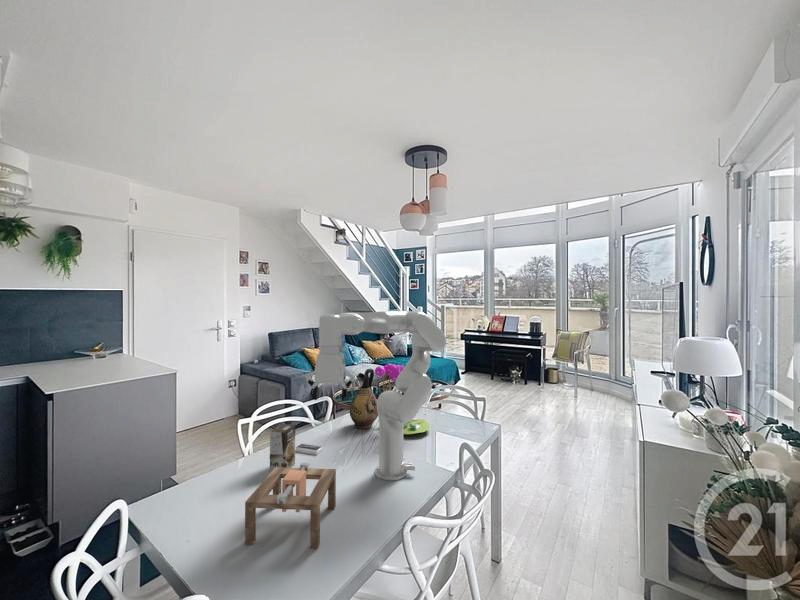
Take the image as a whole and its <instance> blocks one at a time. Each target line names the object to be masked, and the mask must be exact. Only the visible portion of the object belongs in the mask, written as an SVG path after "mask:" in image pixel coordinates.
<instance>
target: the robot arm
mask: <svg viewBox="0 0 800 600" xmlns="http://www.w3.org/2000/svg"><path fill="white" fill-rule="evenodd" d="M318 321H319V322H318V323H319V324H318V327H319V328H318V329H319V331H318V334H319V336H318V340H319V342H318V343H319V344H318V346H319V347H318V348H319V349H318V353H317V355H316V360H315V361H316V362H315V368H314V369H315V370H313V371H310V372H309V373H307V374H305V379H306V381H307V383H308V385H309V386H310V387H311V389H312V397H313V400H314V401H317V400H318V399H319V397H320V395H319V394H320V391H319V389H320V387H319V386H318V385H320V384H333V385H334V384H337V385H338V384H339V385H341V387H342V389H341V401H343V402H344V401H345V400H346V398H348V388H349V386H351V385H352V384H353V382H354V380H355V378H356V375H355V374H353V373H352V372H350V371H348V370H347V369H346V360H345V359H346V358H345V354H344V353H343V352H345V351H346V346H343V344H342V336H343V335H350V336H355V335H359V334H360V333H372V334H400V333H401V334H402V333H412V335H411V339H410V340H411V341H410V342H411V347H412V352H411V353H412V355H411V357H410V359H409V360H408V361H407V363H406V364H405V366H404V369H403V370H402V371H401V373H400V374H399V375H398V377H397V379H396V381H394V383H395V388H396V387H397V389H396V390H398V391H400V392H401V393H403V394H401V393H398V392H397V391H394V390H392V391H389V390H387V391H385V392H381V393H380V395H379V396H378V398H377V399H376V400H377V411H378V417H377V418H378V431H379V432H378V465H377V466H376V467H375V468H374V474H375V476H376V477H377V479H378V478H379V479H380V480H384V481H392V482H393V481H398V480H402V479H403V478H405V477H406V476H407V475H408V471H416V465H415V464H413V463H412V462H406V461H405V458H404V434H403V433H404V428H403V423H407V422H410V421H411V420H412V419H413V418H416V415H417V414H418V413H419V412H420V410H421V409H422V407H423V405H424V404H425V402H426V401H427V400H428V398H429V396H430V395H431V392H432V388H433V387H432V385H433V384H432V379H431V378H430V377H429V375H427V372H428V370H429V368H430V366H431V353H432V352H433V353H438V352H441V351H443V350H444V349H445V347H446V346H447V345H446V344H447V337H446V335H445V333H444V332H443V331H442V329H441V328H440V327H439V326H438V325H437V324H436V323H435V322H434V321H433V319H432V318H431V317H430V316H429V315H427V314H426V313H424V312H423V311H413V310H401V311H400V310H396V311H395V310H393V311H390V310H389V311H388V310H387V311H386V310H385V311H372V312H370V311H368V312H340V313H338V314H331V313H330V314H329V313H328V314H322V315H320V316H319V319H318ZM430 352H431V353H430ZM313 376H314V380H313V379H312V377H313ZM347 377H348V378H349V381H346V379H347Z"/></svg>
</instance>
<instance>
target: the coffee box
mask: <svg viewBox="0 0 800 600" xmlns="http://www.w3.org/2000/svg"><path fill="white" fill-rule="evenodd" d="M295 464H296V424H292V423H289V424H288V423H281V424H280V425H278V426H276V427H275V428H273V429H272V430H270V431H269V473H271V472H272V471H273V469H274V468H275V467H286V468H293V467H294V466H295Z"/></svg>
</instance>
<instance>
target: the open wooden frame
mask: <svg viewBox="0 0 800 600" xmlns="http://www.w3.org/2000/svg"><path fill="white" fill-rule="evenodd" d="M290 470H300V467H291V468H286V467H275V468H274V469H273V471H272V472H269V474H268V475H267V477H266V478H265V479H264V480H263V481H262V482H261V483H260V484H259V486H258V487H256V489H255V490H254V491H253V492H252V493H251V495H250V496H249V497H248V498H247V499H246V500H245V502H244V512H245V513H244V545H246V546H253V545H254V543H255V541H257V540H256V538H257V537H256V536H257V534H256V531H257V527H256V525H257V523H256V521H257V519H256V517H257V516H256V515H257V511H256V510H257V509H273V510H282V509H287V510H295V511H296V510H300V511H310V516H309V517H310V533H309V535H310V536H309V539H310V546H309V547H310V548H309V549H311V550H312V549H313V550H318V549H319V546H320V543H321V536H320V535H321V519H320V518H321V506H322V503H323V501H324V499H325V497H326V495H327V509H328V510H334V511H335V508H336V505H337V503H336V502H337V500H336V497H337V496H336V494H337V490H336V489H337V487H336V486H337V481H336V479H337V477H336V476H337V469H336V468H312V467H311V468H310V467H309V469H308V471H306V480H318V481H317V482H316V484H315V486H314V488H313V490H312V492H311V493H310V495H306V496H296V495H294V494H293V495H288V501H287V502H286V504H282V503H277V496H278V495H279V493H282V479H284V477H285V476H286V475H287V473H288V472H289V471H290ZM271 492H272V494H270V493H271Z"/></svg>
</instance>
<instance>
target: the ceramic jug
mask: <svg viewBox="0 0 800 600" xmlns="http://www.w3.org/2000/svg"><path fill="white" fill-rule="evenodd" d="M374 376H375V369H373V368H367V369H365V371H364V373H362V372H359V373H358V374H357V376H356V380H357V381H359V382H361V383H362V385H361V386H360V388H359V390H358V391H356V394H355V395H354V396H353V398H352V400H351V403H350V407H349V416H350V419H351V421H352V422H353V424H354V427H355V428H356V429H363V430H364V429H369V428H372V426H373V424H374V422H375V421H376V420H377V418H379V417H378V411H377V400H378V399H377V398H376V395H375V393H373V391H372V385H373V380H374Z"/></svg>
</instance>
